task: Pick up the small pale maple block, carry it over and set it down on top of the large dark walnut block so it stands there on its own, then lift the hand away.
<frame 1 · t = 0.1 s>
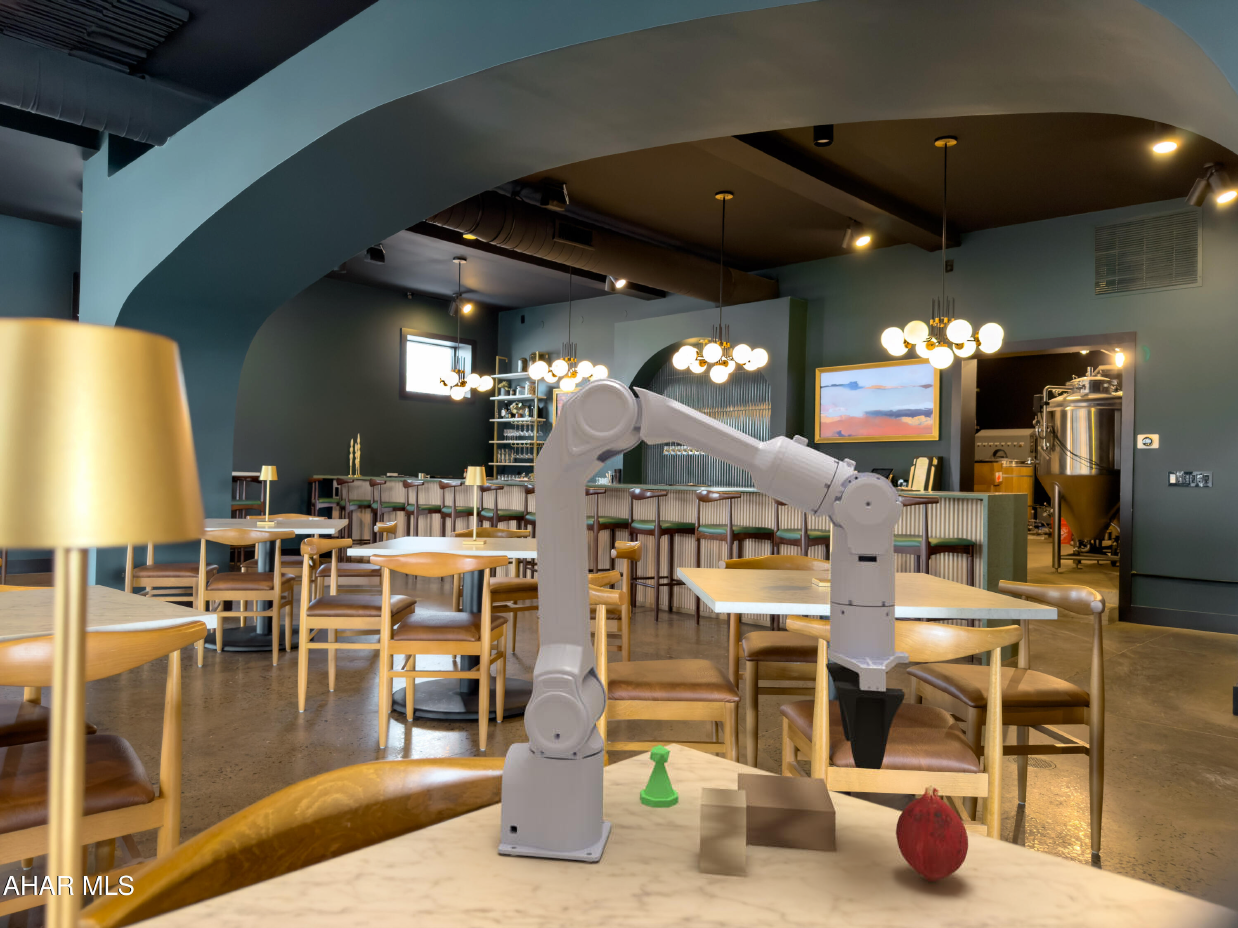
hand: (861, 753, 69), 10 cm above the table, fingers open, 7 cm apart
game piece: (659, 802, 83), on the table
walnut block: (783, 831, 77), on the table
onion: (931, 883, 66), on the table
maple block: (722, 864, 68), on the table
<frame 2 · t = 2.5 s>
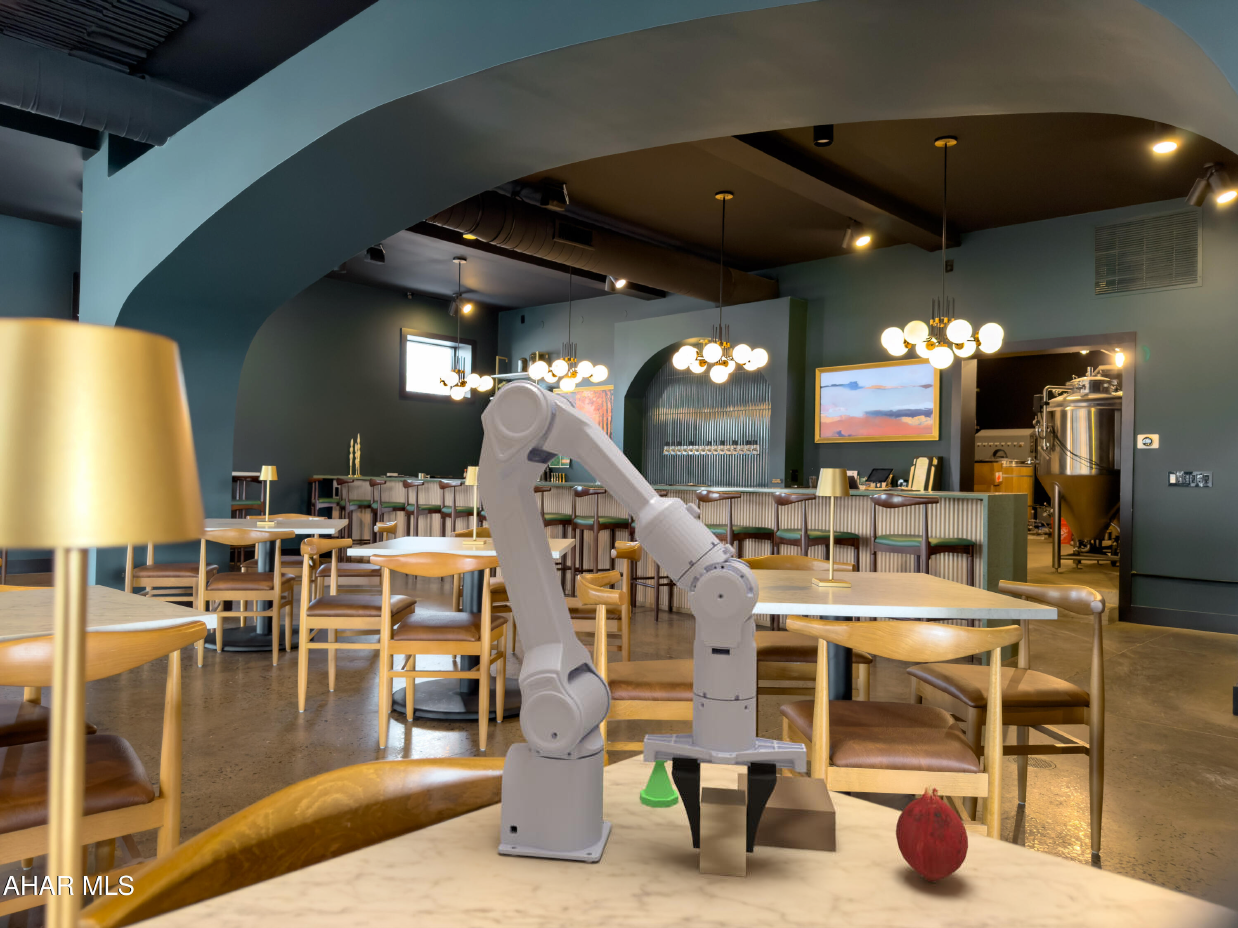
hand: (722, 845, 69), 2 cm above the table, fingers closed on maple block, 4 cm apart
maple block: (722, 864, 68), on the table, touching gripper
everything else where it was.
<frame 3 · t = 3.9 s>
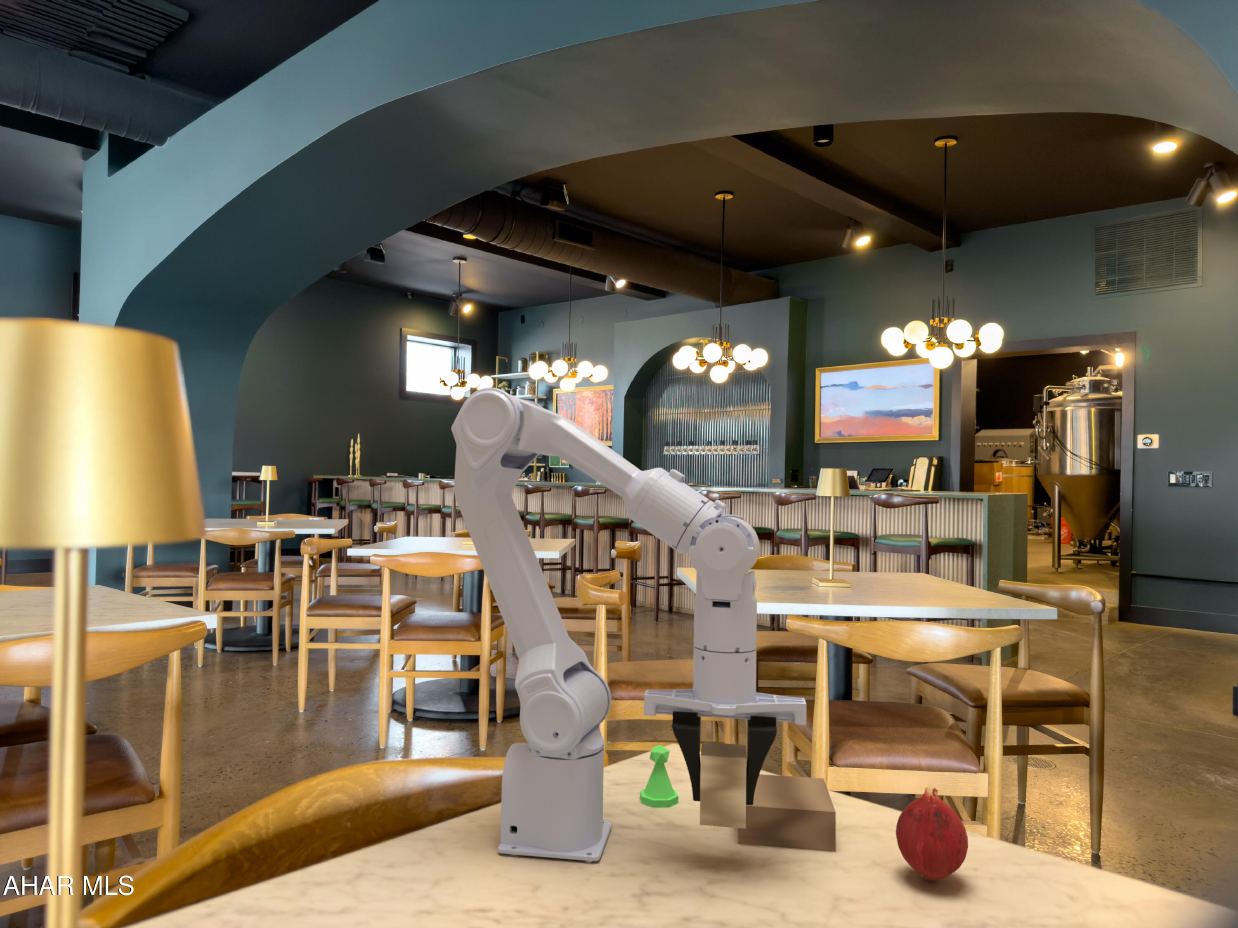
hand: (722, 798, 69), 6 cm above the table, fingers closed on maple block, 4 cm apart
maple block: (722, 817, 69), point 4 cm above the table, touching gripper
everything else where it was.
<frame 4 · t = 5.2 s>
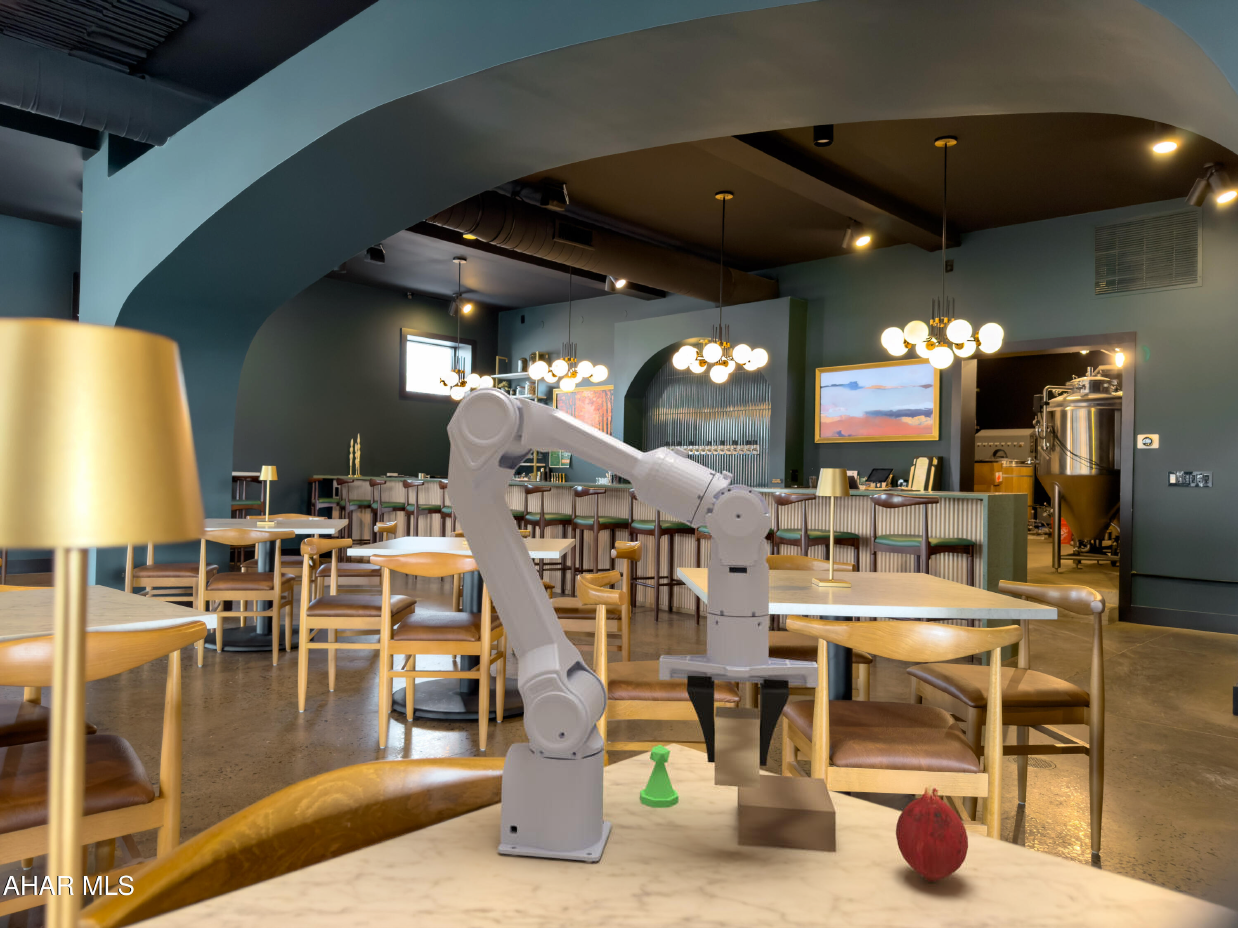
hand: (736, 760, 71), 9 cm above the table, fingers closed on maple block, 4 cm apart
maple block: (736, 778, 70), point 7 cm above the table, touching gripper
everything else where it was.
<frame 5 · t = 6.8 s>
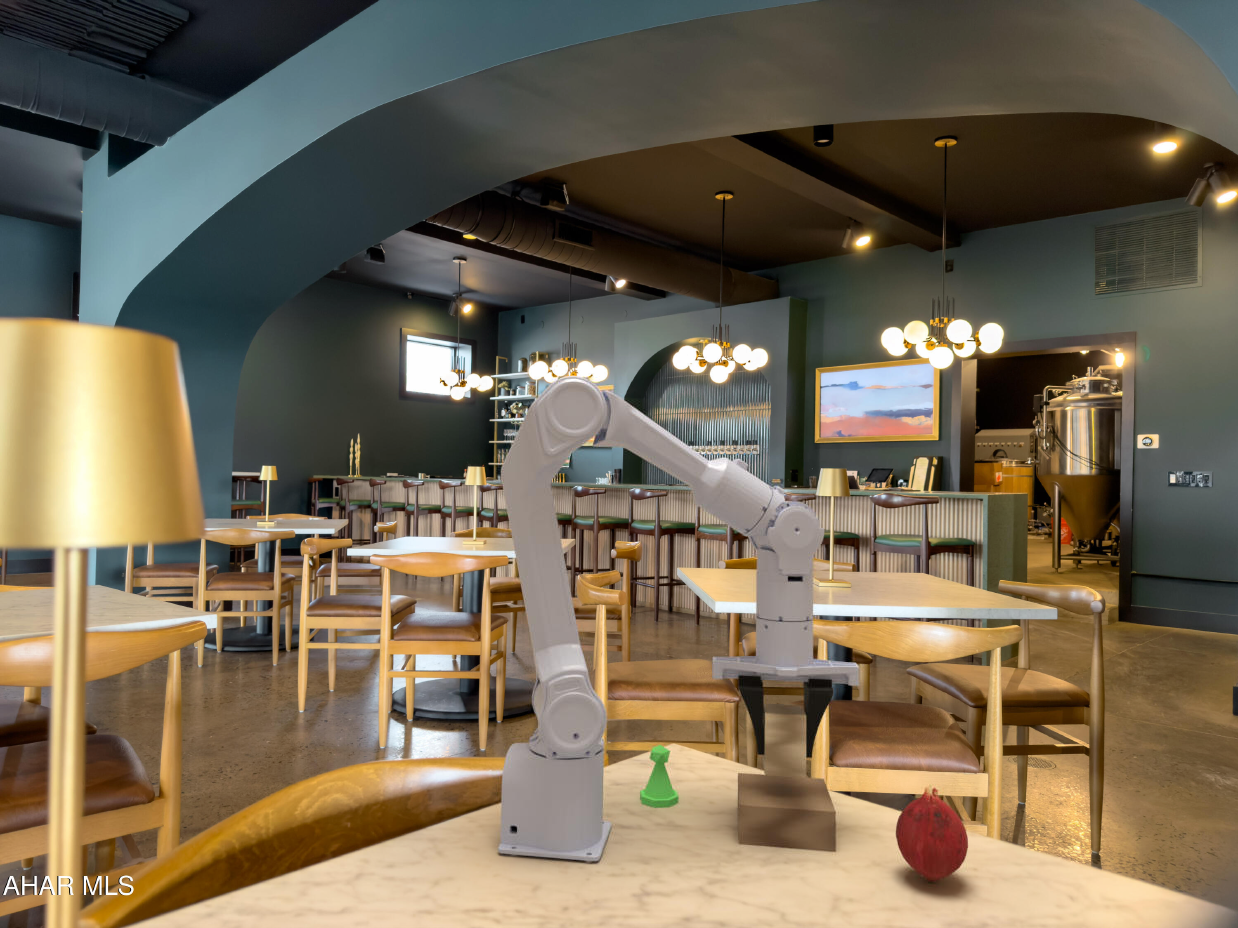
hand: (783, 753, 77), 7 cm above the table, fingers closed on maple block, 4 cm apart
maple block: (783, 769, 77), point 6 cm above the table, touching gripper
everything else where it was.
when the fingers open (7 cm above the table, at t = 8.0 s): maple block drops 2 cm, resting on walnut block.
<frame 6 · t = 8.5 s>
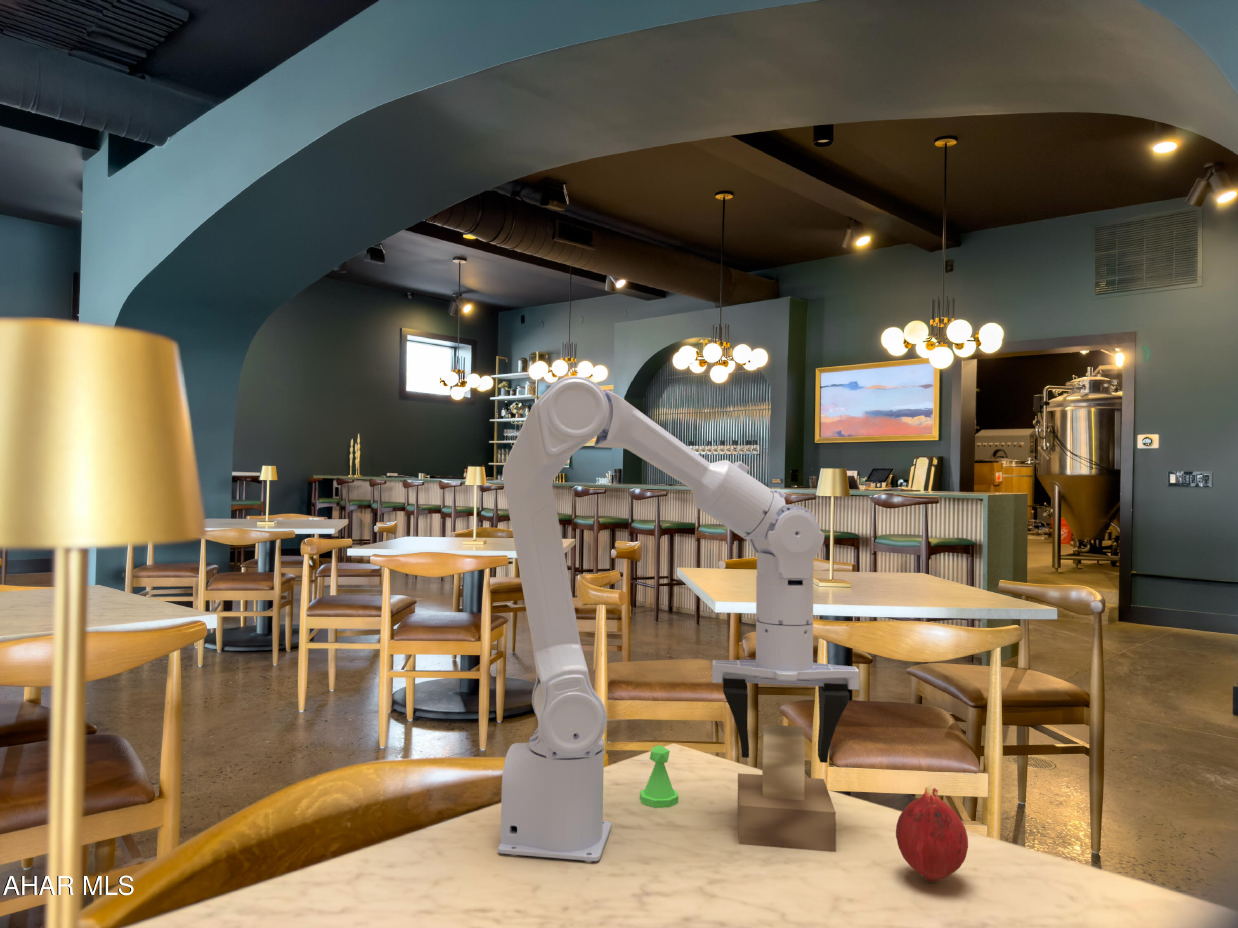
hand: (783, 756, 77), 7 cm above the table, fingers open, 7 cm apart
walnut block: (783, 831, 77), on the table, touching maple block
maple block: (782, 791, 77), point 4 cm above the table, touching walnut block
everything else where it was.
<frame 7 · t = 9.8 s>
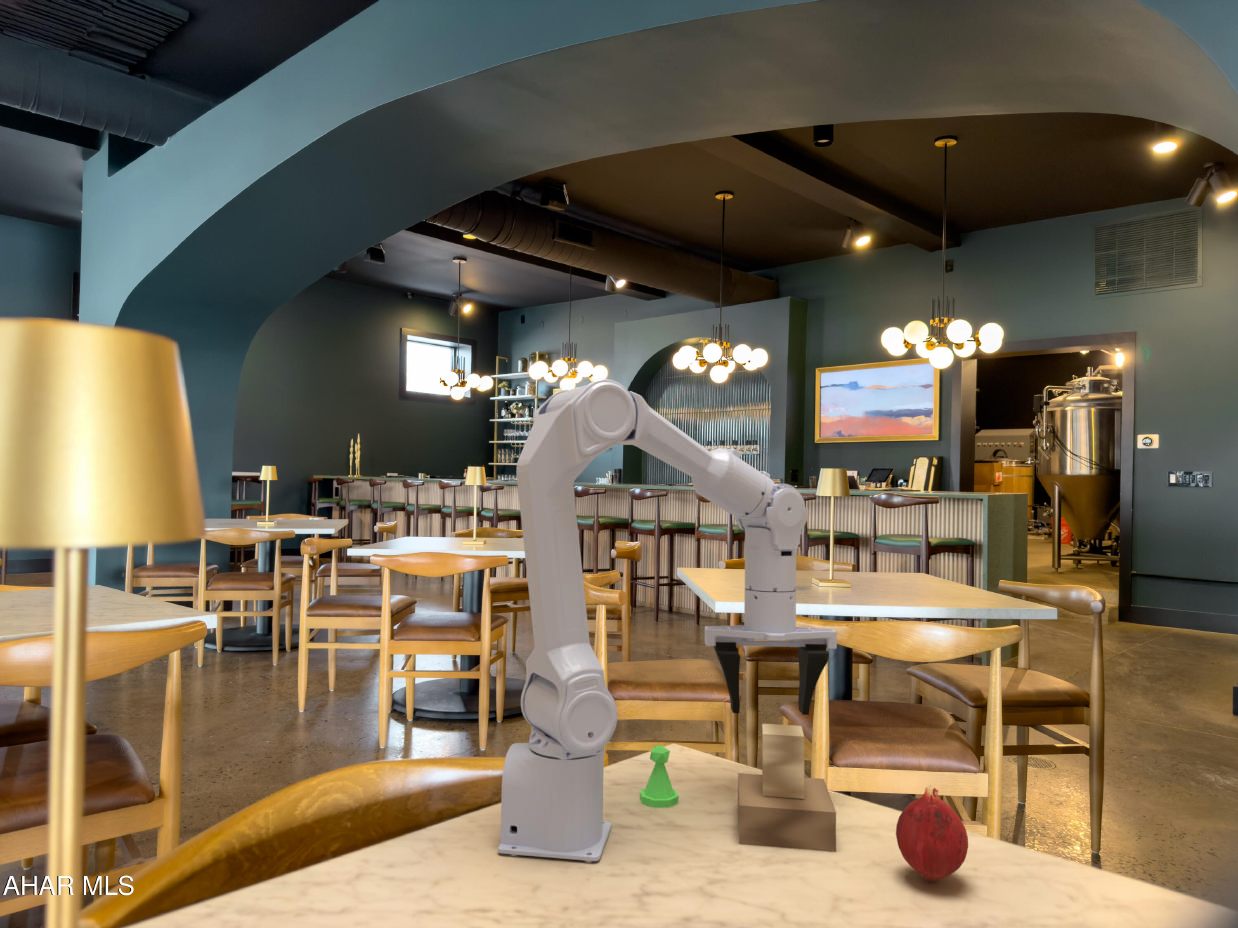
hand: (769, 711, 85), 9 cm above the table, fingers open, 7 cm apart
nothing on the table moved.
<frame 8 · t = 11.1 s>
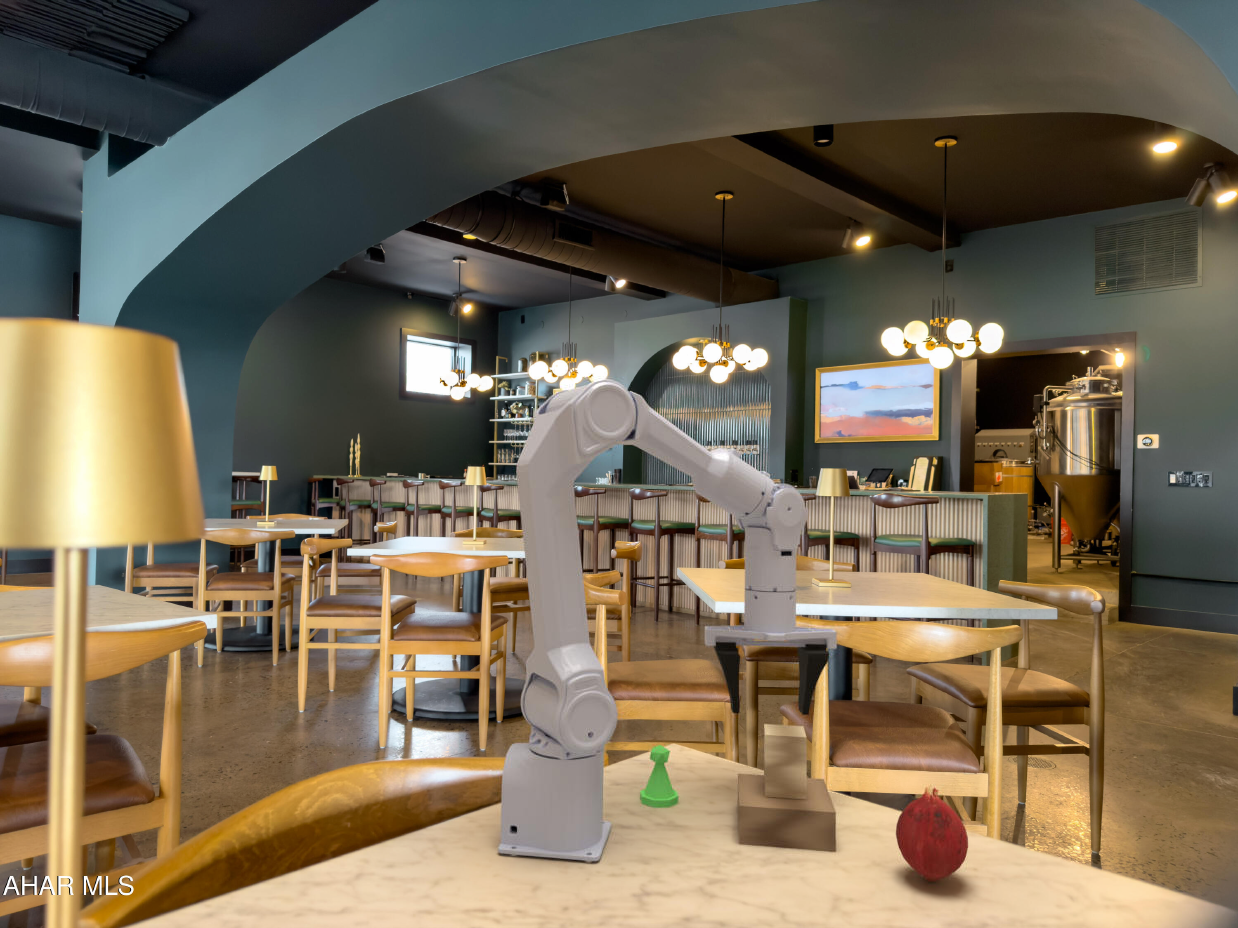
hand: (769, 711, 85), 9 cm above the table, fingers open, 7 cm apart
walnut block: (783, 832, 77), on the table
maple block: (784, 790, 77), point 4 cm above the table
everything else where it was.
at the end: maple block inside the target area on the walnut block (0.1 cm from its centre), point 4.0 cm above the walnut block's base; maple block tilted 0°; the gripper is holding nothing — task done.
